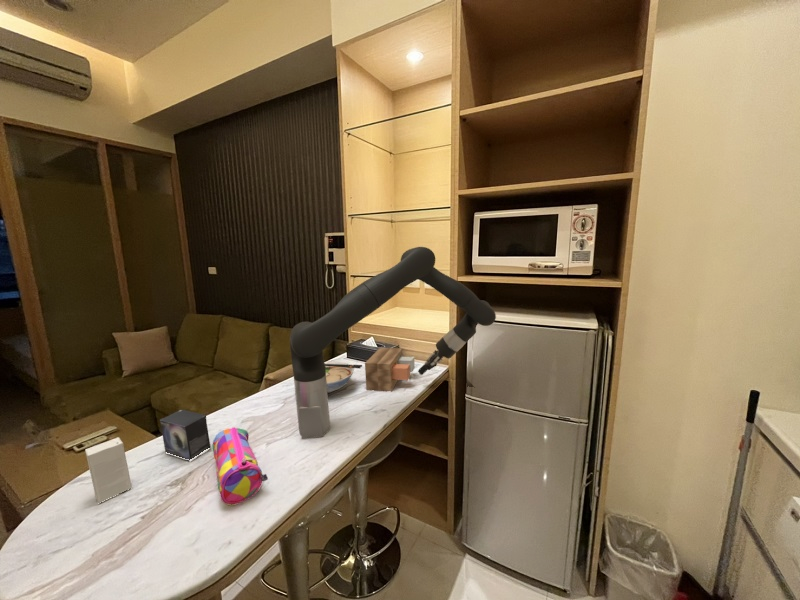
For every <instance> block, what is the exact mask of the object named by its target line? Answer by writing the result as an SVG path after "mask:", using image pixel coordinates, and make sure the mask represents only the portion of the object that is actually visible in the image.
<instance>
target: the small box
mask: <svg viewBox="0 0 800 600" xmlns="http://www.w3.org/2000/svg"><path fill="white" fill-rule="evenodd" d="M159 423H160V429H161V435H162V441H163V447H164V452H167V453H170V454H173V455H176V456H179V457H182V458H185V459H189V460H190V459H192V458H194V457H195V456H197V455H199V454H200V453H201V452H203V451H204V450H206V449H208V448H210V447H212V446H211V442H210V436H209V430H208V421H207V415H206V414H203V413H198V412H194V411H190V410H185V409H179V410H177V411H174V412H173V413H171V414H169V415H167V416H165V417H163V418H161V419H159Z"/></svg>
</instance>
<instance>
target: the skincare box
mask: <svg viewBox="0 0 800 600" xmlns="http://www.w3.org/2000/svg"><path fill="white" fill-rule="evenodd" d="M84 451H85V456H86V459H87V460H86V461H87V465H88V469H89V473H90V477H91V482H92V487H93V491H94V495H95V498H96V502H97V504H98V503H100V502H102V501H104V500H106V499H108V498H110V497H113V496H115V495H117V494H119V493H122V492H124V491H126V490H128V489H130V488H132V489H133V485H132V482H131V477H130V471H129V470H130V469H129V466H128V462H127V457H126V452H125V448H124V442H123V441H122V440H121V438H120V436H119V437H118V436H117V437H115V438H112V439H110V440H107V441H104V442H102V443H101V442H100V443H98V444H95V445H93V446H91V447H89V448H86V449H85V450H84ZM130 490H131V489H130ZM128 491H129V490H128ZM126 492H127V491H126ZM124 493H125V492H124ZM122 494H123V493H122ZM119 495H120V494H119ZM117 496H118V495H117ZM115 497H116V496H115ZM113 498H114V497H113Z"/></svg>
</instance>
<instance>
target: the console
mask: <svg viewBox="0 0 800 600" xmlns="http://www.w3.org/2000/svg"><path fill="white" fill-rule="evenodd" d="M399 357H403V348H402V347H398V348H397V347H379V348H378V349H377V350H376V351H375V352H374V353H373V354H372V355H371V357H369V358H368V359H367V360H366V361H365V362H364V370H365V374H364V375H365V388H366V391H372V390H374V391H375V392H387V391H391V392H392V391H393V390H394V388H395V386H396V385H395V384H397V383H398V381H399V380H397V379H392V367H393V365H394V364H398V358H399ZM392 389H393V390H392Z"/></svg>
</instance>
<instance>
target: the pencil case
mask: <svg viewBox="0 0 800 600" xmlns="http://www.w3.org/2000/svg"><path fill="white" fill-rule="evenodd" d="M211 447H212V448H211V450H212V452H213V453H212V454H213V456H214V460H215V465H216V476H217V487H218V491H219V494H220V499H221V501H222V502H223V503H224V504H225V505H228V506H235V505H237V504H240V503H243V502H245V501H247V500H250V499H251V498H253V497H254V496H255V495H256V494H257V493H258V491H259V490H260V489H261V486H262V483H263V482H265V481H267V480H268V475H267V474H266V473H265V474H263V472H262V469H261V467H260V466H259V464H258V461H257V460H258V459H257V457H256V456H255V453H254V452H253V450H252V447H251V445H250V443H249V432H248V430H246V429H244V428H239V427H231V428H226V429H224V430H220V431H219V432H218V433H217V434H216V435H215V437H214V438H213V441H212V446H211Z"/></svg>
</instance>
